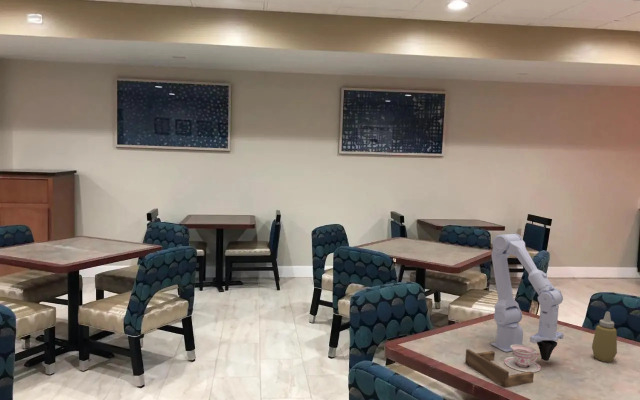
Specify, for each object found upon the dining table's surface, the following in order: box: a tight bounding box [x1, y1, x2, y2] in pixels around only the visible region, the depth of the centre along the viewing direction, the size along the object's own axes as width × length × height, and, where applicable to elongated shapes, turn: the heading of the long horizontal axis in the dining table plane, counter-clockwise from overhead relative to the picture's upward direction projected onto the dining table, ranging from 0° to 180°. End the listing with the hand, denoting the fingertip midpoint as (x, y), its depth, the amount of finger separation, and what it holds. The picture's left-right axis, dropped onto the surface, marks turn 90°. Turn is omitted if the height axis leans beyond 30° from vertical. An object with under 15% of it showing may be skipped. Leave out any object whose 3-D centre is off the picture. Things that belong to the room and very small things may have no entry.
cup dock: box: [464, 348, 535, 388], centre depth 158 cm, size 12×18×5 cm, turn 23°
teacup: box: [503, 344, 542, 373], centre depth 164 cm, size 12×12×6 cm
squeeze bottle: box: [591, 311, 618, 363], centre depth 172 cm, size 8×8×18 cm
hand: (544, 359), depth 166 cm, fingers closed
